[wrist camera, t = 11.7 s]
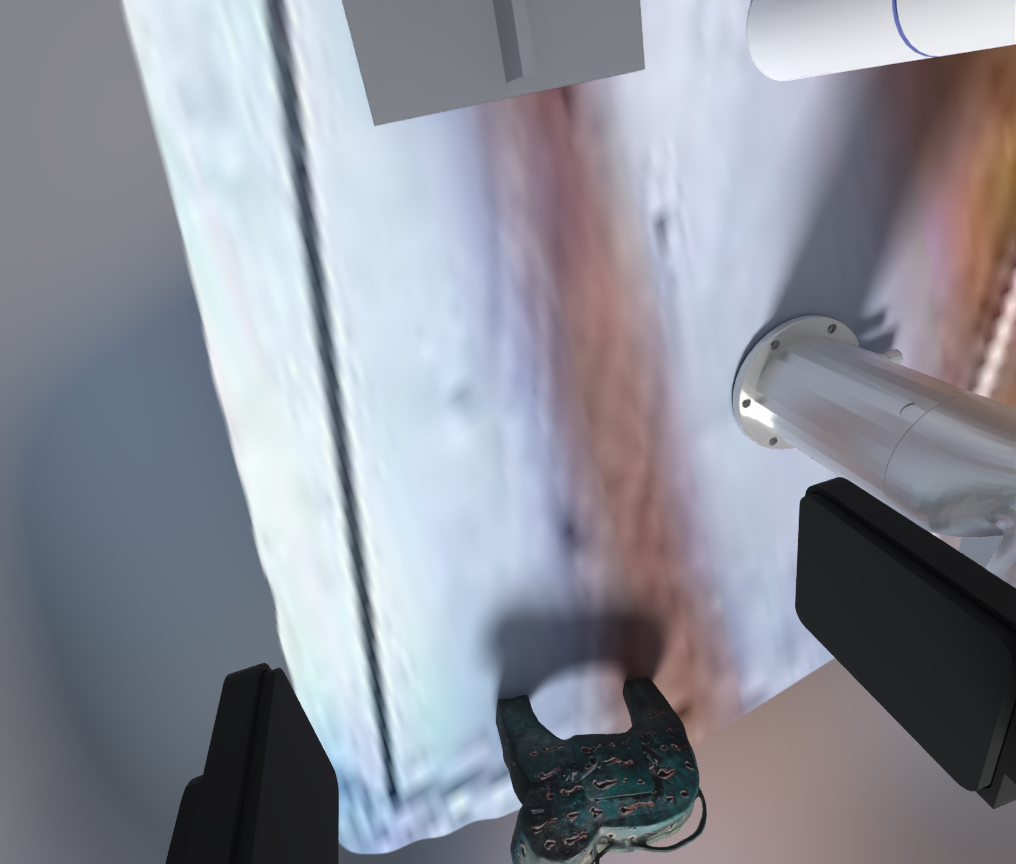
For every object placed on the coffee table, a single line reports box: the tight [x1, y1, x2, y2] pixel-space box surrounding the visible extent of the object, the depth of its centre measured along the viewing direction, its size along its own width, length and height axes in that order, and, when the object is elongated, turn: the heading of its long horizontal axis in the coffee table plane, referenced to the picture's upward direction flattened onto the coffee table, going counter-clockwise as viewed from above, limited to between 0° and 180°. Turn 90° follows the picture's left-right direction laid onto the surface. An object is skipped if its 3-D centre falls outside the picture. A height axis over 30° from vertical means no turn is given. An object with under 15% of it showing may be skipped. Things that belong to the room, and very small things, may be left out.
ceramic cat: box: [496, 678, 707, 864], centre depth 56 cm, size 20×6×20 cm, turn 85°
